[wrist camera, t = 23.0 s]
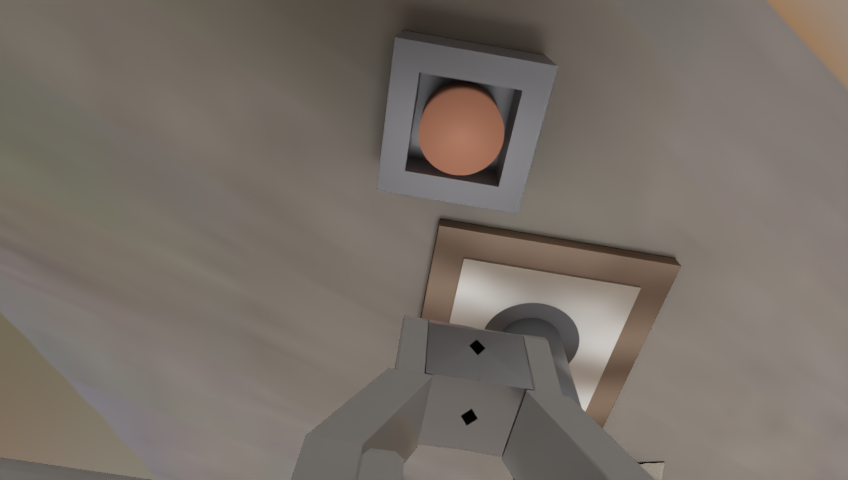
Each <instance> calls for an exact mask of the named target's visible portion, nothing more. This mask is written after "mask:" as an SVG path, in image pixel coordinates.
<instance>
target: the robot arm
mask: <svg viewBox="0 0 848 480" xmlns="http://www.w3.org/2000/svg"><path fill="white" fill-rule="evenodd" d="M418 444H420V445H428V446H436V447H444V448H452V449H460V450H465V451H471V452H476V453H482V454H487V455H493V456H498V457H503V458H502V460H503V462H504V463H505V465H506V467H507V468H508V470H509V471H510V473H511V475H512V476H513V478H514V479H515V480H655V479H654V478H653V477H652V476H651V475H650V474H649V473H648V472H646V471H645V470H644V469H643V468H642V467H641V466H640V465H639V464H638V463H637V462H636V461H635V460H634V459H633V458H632V457H631V456H630V455H629V454H628V453H627V452H626V451H625V450H624V449H623V448H622V447H621V446H620V445H619V444H618V443H617V442H616V441H615V440H614V439H613V438H612V437H611V436H610V435H609V434H608V433H607V432H605V431H604V430H603V429H602V428H601V427H600V426H599V425H598V424H597V423H596V422H595V421H594V420H593V419H592V418H591V417H590V416H589V415H588V414H587V413H586V412H585V411H584V410H583V409H582V408H581V407H580V406H579V405H578V404H577V403H576V402H575V401H574V400H573V399H572V398H571V397H569V396H563V395H562V391H561V388H560V384H559V380H558V377H557V373H556V369H555V366H554V362H553V358H552V355H551V351H550V348H549V344H548V341H547V340H546V338H545V337H537V336H530V335H522V334H521V335H517V334H510V333H504V332H497V331H491V330H484V329H478V328H474V327H469V326H463V325H458V324H452V323H447V322H441V321H436V320H430V319H429V320H427V319H424V318H418V317H412V316H406V315H404V318H403V323H402V329H401V334H400V340H399V346H398V352H397V358H396V363H395V369H391V368H388V369H387V370H386V371H385V372H383V373H382V374H381V375H380V376H378V377H377V378H376V379H375V380H373V381H372V382H371V383H370V384H369V385H367V386H366V387H365V388H364V389H362V390H361V391H360V392H359V393H358V394H356V395H355V396H354V397H353V398H351V399H350V400H349V401H348V402H346V403H345V404H344V405H343V406H342V407H340V408H339V409H338V410H337V411H335V412H334V413H333V414H332V415H331V416H329V417H328V418H327V419H326V420H324V421H323V422H322V423H321V424H319V425H318V426H317V427H316V428H315V429H313V430H312V431H311V432H310V433H308V434H307V435H306V436H305V439H304V442H303V445H302V448H301V451H300V454H299V457H298V460H297V463H296V466H295V469H294V472H293V476H292V479H291V480H402V475H403V464H404V463H405V462H406V460H407V459H408V458H409V457H410V455H411V454H412V453H413V451H414V450H415V449H416V448H417V445H418ZM0 480H149V479H143V478H136V477H129V476H123V475H115V474H109V473H102V472H95V471H89V470H82V469H75V468H68V467H62V466H55V465H48V464H42V463H35V462H28V461H21V460H15V459H8V458H1V457H0Z"/></svg>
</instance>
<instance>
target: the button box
mask: <svg viewBox="0 0 848 480" xmlns="http://www.w3.org/2000/svg"><path fill="white" fill-rule="evenodd" d="M557 69H558V65H556V64H555V63H554V62H552V61H551V60H550V59H549V58H547V57H546V56H545V55H540V54H534V53H529V52H523V51H518V50H512V49H506V48H501V47H495V46H489V45H484V44H478V43H472V42H467V41H461V40H456V39H450V38H444V37H439V36H433V35H427V34H422V33H416V32H410V31H405V30H402V31H401V32H400V33H399V34H398V35H397V36H396V37H395V41H394V49H393V58H392V66H391V74H390V83H389V91H388V99H387V108H386V116H385V124H384V133H383V141H382V149H381V158H380V166H379V174H378V183H377V190H378V191H384V192H390V193H396V194H402V195H408V196H414V197H420V198H426V199H432V200H438V201H443V202H449V203H455V204H461V205H467V206H473V207H479V208H485V209H491V210H497V211H503V212H509V213H515V214H517V213H518V210H519V206H520V203H521V199H522V195H523V192H524V188H525V185H526V181H527V177H528V174H529V170H530V167H531V163H532V159H533V156H534V152H535V149H536V145H537V141H538V138H539V134H540V131H541V127H542V123H543V120H544V116H545V113H546V109H547V105H548V102H549V98H550V94H551V91H552V87H553V84H554V80H555V76H556V73H557ZM458 81H465V82H471V83H474V84H477V85H479V86H481V87H483V88H484V89H485V90H487V91H488V92H489V93H490V94H491V95H492V97H493V98H494V100H495V102H496V103H497V106H498V108H499V111H500V114H501V117H502V120H503V124H504V141H503V145H502V148H501V150H500V152H499V154H498V155H497V157H496V158H495V159H494V161H493V162H492V163H491V164H490V165H488V166H487V167H486V168H484V169H483V170H481V171H479V172H476V173H473V174H470V175H452V174H448V173H445V172H442V171H440V170H439V169H437V168H436V167H434V166H433V165H432V164H431V163H430V162H429V161H428V160H427V159H426V157H425V156H424V154H423V152H422V150H421V147H420V144H419V138H418V131H419V124H420V120H421V116H422V112H423V109H424V106H425V104H426V102H427V100H428V99H429V97H430V96H431V95H432V94H433V93H434V92H435V91H436V90H437V89H439V88H440V87H442V86H444V85H446V84H449V83H452V82H458Z"/></svg>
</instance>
